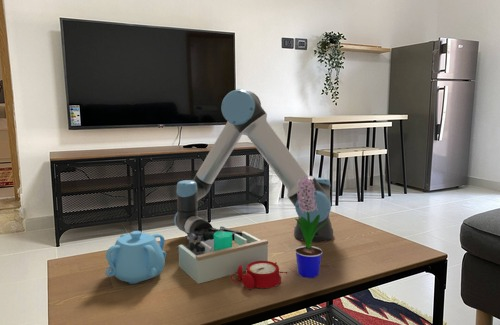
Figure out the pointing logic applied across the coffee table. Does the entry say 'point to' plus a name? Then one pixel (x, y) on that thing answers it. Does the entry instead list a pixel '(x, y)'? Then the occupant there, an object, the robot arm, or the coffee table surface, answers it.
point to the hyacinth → (308, 231)
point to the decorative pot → (136, 257)
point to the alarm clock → (260, 275)
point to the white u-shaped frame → (222, 259)
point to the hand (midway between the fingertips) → (228, 248)
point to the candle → (222, 240)
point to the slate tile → (208, 242)
